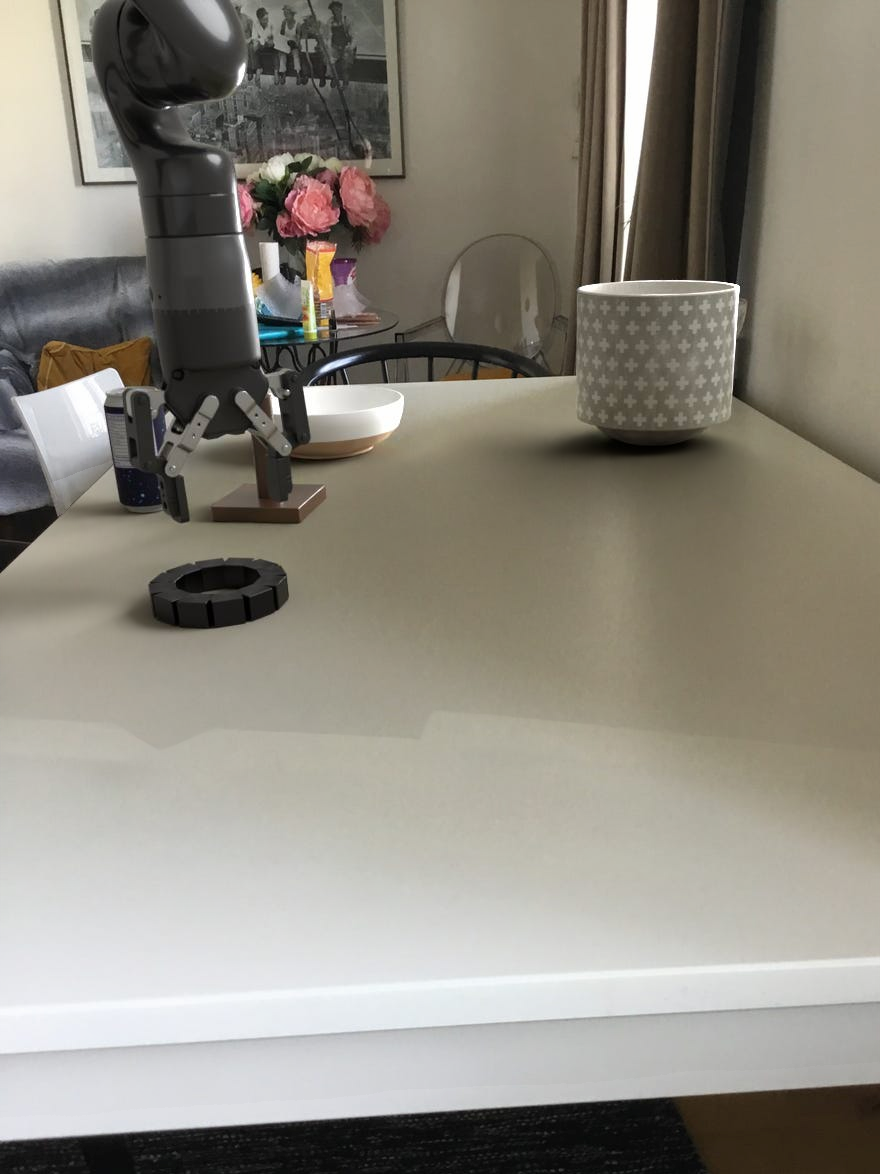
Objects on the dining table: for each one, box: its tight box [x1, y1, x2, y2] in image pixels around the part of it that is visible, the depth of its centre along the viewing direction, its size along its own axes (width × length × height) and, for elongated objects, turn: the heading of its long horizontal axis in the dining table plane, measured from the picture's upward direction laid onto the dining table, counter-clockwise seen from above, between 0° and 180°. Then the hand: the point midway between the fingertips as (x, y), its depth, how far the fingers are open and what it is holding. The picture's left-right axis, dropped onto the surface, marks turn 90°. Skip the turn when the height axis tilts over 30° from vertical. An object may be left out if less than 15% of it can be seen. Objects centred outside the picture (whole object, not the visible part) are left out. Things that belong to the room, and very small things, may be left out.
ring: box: [147, 557, 290, 629], centre depth 83 cm, size 10×10×2 cm
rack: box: [210, 393, 327, 524], centre depth 105 cm, size 9×9×12 cm
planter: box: [575, 280, 740, 447], centre depth 129 cm, size 19×19×18 cm
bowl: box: [268, 385, 404, 460], centre depth 131 cm, size 20×20×6 cm
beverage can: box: [103, 385, 168, 514], centre depth 107 cm, size 6×6×12 cm
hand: (231, 510), depth 85 cm, fingers open, 8 cm apart
